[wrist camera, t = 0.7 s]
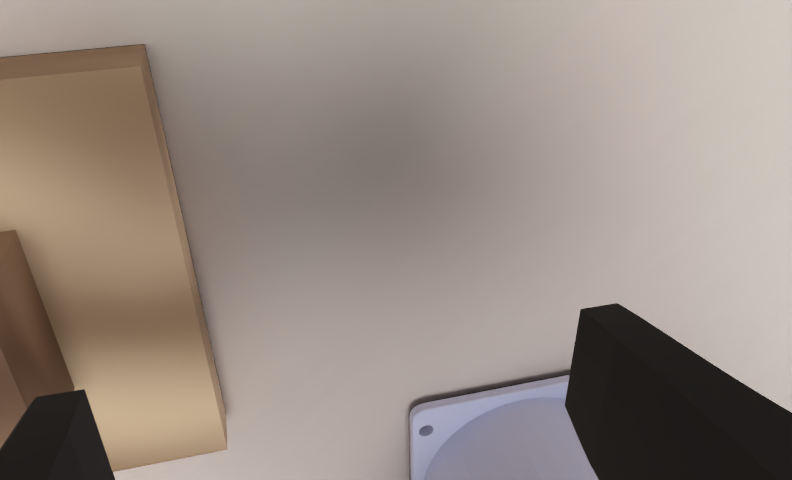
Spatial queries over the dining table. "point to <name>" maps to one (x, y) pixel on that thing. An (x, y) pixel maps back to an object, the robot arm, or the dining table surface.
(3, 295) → the brown wooden block
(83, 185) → the oak board
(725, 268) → the dining table surface
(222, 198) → the dining table surface
